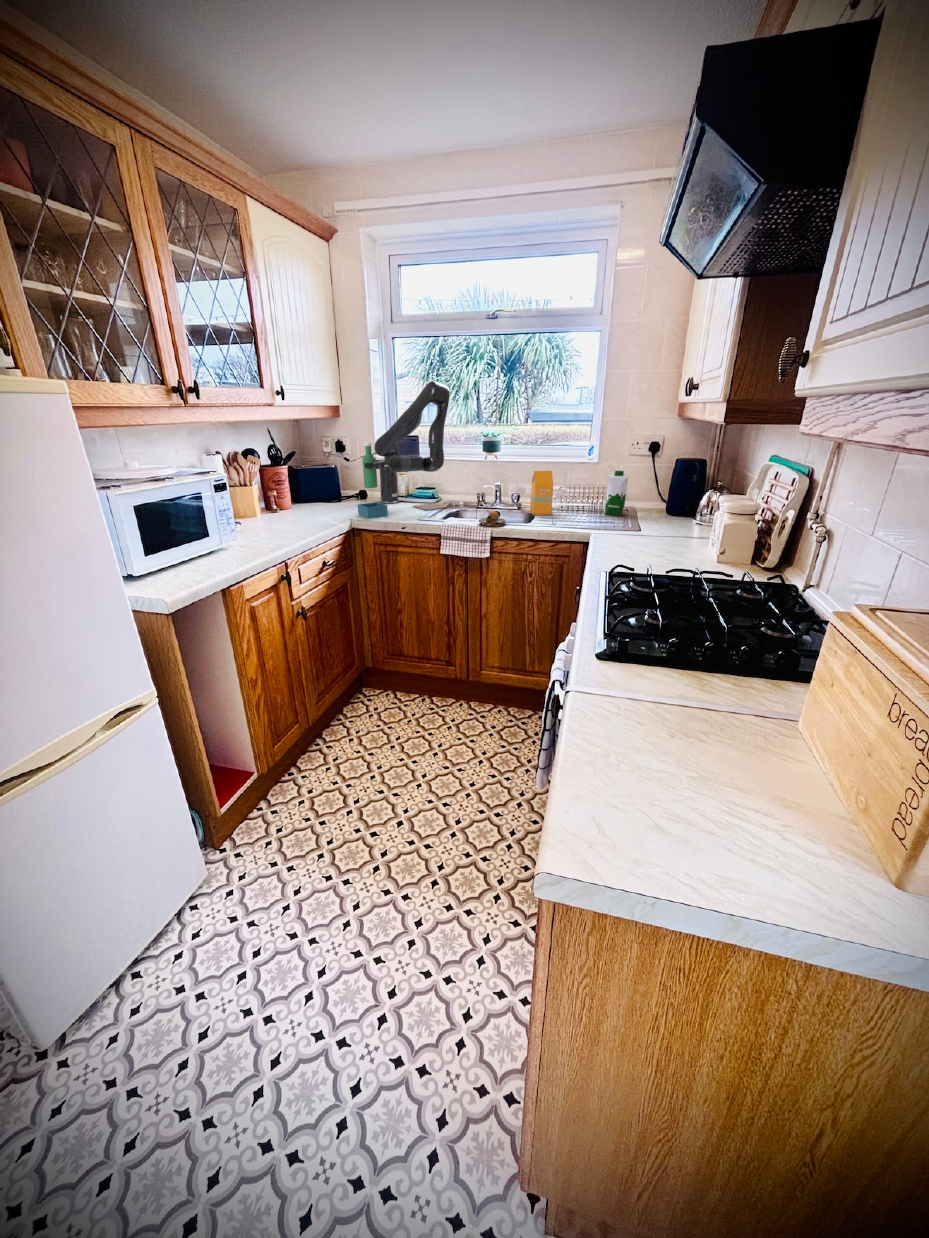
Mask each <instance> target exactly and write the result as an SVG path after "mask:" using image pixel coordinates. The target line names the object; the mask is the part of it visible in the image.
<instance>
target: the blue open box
mask: <svg viewBox="0 0 929 1238" xmlns="http://www.w3.org/2000/svg"><path fill="white" fill-rule="evenodd" d="M357 512H358V513H357V514H358V516H360V517H362V518H364V519H368V520H369V519H376V518H384V517H388V516H389V511H388V504H386V503H382V502H378V501H376V502H375V501H374V502H367V503H358V504H357Z"/></svg>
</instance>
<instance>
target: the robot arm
mask: <svg viewBox="0 0 929 1238" xmlns="http://www.w3.org/2000/svg"><path fill="white" fill-rule="evenodd" d="M450 396H451V392H450V388H449V387H448V386H447V385H445V384H442V383H440V382H438V381H435V380H431V381H429V382H428V383H427V384H425V386H424V387H423V389H422V390H421V391H420V393H419V394H418V396H416V398H415V399H414V401H413V402H412V403H411V404H410V405H409V406H408V408H407V409H405V411H404V412H402V414H401V415H400V416H399V418H398V419H397V420H395V422H394V423H393V424H392V425H391V426H390V427H389V429H387V430H386V432H384V433H383V434H382V435H381V436H379V437H378V438H377V439H376V441H375V442H374V447H373V448H374V449H373V450H374V453H375V454H376V455H377V456H379V457H383V459H376V462H374V463H365V468H373V467H374V469H376V470H379V489H380V503H381V504H386V505H388V504H390V505H391V504H398V503H399V483H398V473H408V472H429V473H430V472H432V473H433V472H438V471H440V469H442V467H443V466H444V463H445V453H444V441H445V439H444V438H445V435H444V434H445V425H446V419H447V414H448V408H449V405H450V404H449V403H450ZM429 404H433V405H436V414H435V418H434V419H433V421H432V422H431V425H430V427H429V430H428V444H427V445H428V448H429V456H421V455H418V454H417V455H407V454H399V446H398V442H399V441H401V440H402V439H404V438H406V437H408V436H410V435H411V434H412V433H413V432H414V431H416V430H417V428H419V426H420V425H421V423H422V420H423V411H424V410H425V408H426V407H427V406H429Z"/></svg>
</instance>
